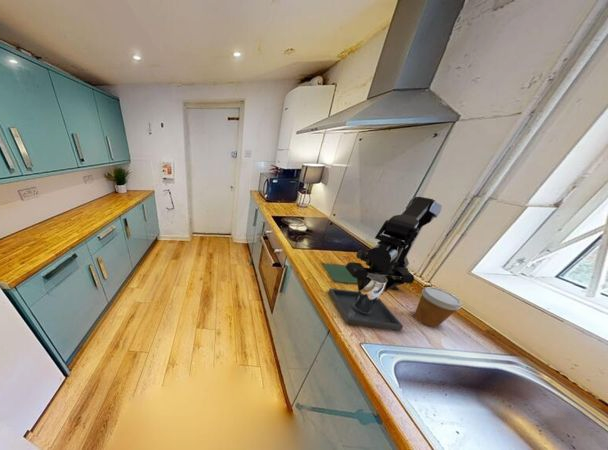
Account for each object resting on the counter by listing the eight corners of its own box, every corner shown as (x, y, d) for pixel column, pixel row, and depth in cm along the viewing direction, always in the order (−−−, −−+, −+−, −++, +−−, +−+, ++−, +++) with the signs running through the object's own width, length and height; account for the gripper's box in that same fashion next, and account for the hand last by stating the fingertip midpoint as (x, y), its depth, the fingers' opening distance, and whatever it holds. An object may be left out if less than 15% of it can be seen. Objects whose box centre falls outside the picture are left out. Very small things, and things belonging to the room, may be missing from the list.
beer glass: (376, 316, 72) (393, 285, 66) (355, 313, 74) (370, 281, 67) (366, 302, 79) (381, 272, 72) (347, 299, 80) (360, 269, 73)
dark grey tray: (372, 297, 83) (374, 293, 82) (400, 331, 68) (403, 326, 67) (328, 292, 85) (329, 288, 84) (346, 324, 71) (348, 319, 69)
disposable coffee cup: (449, 336, 67) (469, 311, 62) (412, 323, 72) (428, 298, 67) (438, 316, 74) (456, 292, 70) (405, 306, 79) (419, 282, 74)
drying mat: (355, 267, 102) (355, 266, 102) (371, 285, 89) (371, 285, 89) (322, 264, 104) (322, 263, 104) (334, 281, 91) (334, 281, 91)
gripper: (399, 245, 72) (382, 279, 79) (345, 241, 74) (333, 274, 81) (425, 263, 62) (403, 300, 69) (362, 257, 64) (346, 293, 71)
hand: (369, 290), depth 72 cm, fingers closed on beer glass, 7 cm apart
